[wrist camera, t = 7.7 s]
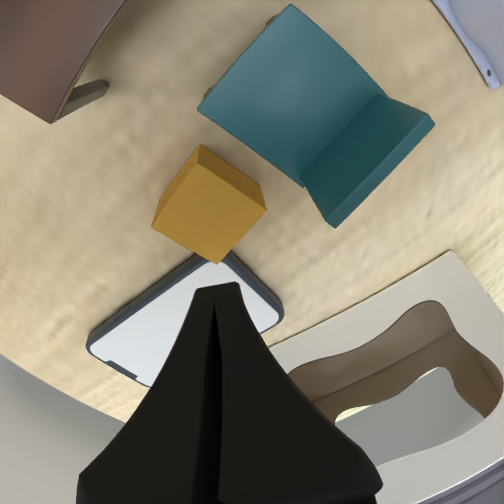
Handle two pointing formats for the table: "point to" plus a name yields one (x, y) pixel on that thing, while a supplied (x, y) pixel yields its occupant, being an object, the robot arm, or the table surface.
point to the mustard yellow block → (208, 206)
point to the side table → (52, 52)
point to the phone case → (174, 316)
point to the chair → (314, 114)
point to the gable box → (412, 368)
